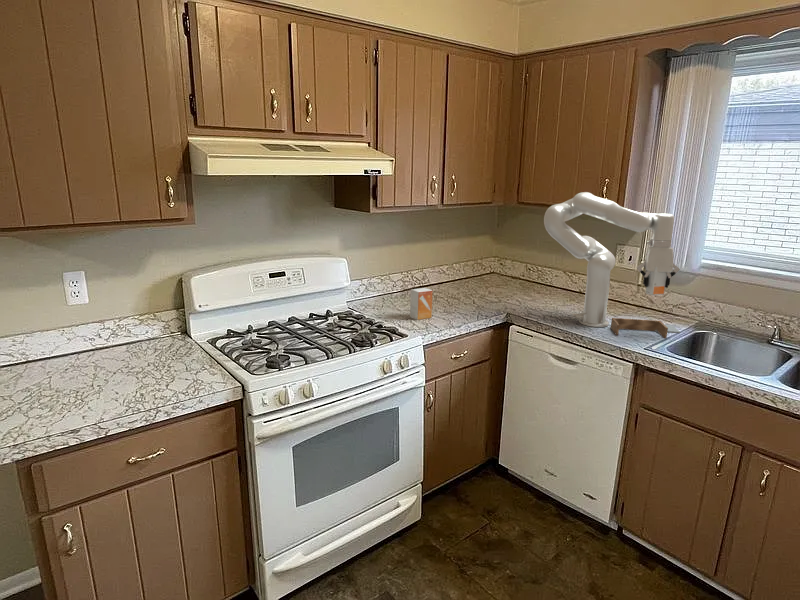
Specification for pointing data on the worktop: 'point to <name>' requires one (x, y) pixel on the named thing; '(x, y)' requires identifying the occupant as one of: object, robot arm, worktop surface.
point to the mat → (671, 329)
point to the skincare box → (656, 283)
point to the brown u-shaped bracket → (638, 325)
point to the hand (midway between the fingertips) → (655, 286)
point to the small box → (421, 303)
